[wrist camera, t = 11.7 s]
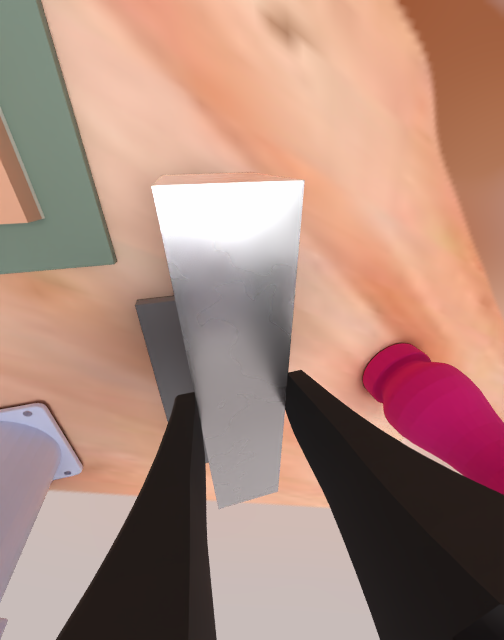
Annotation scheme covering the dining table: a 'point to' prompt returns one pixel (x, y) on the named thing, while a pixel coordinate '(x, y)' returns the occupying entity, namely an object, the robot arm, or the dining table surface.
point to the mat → (46, 152)
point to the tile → (15, 183)
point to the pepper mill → (439, 412)
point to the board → (166, 349)
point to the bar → (235, 313)
